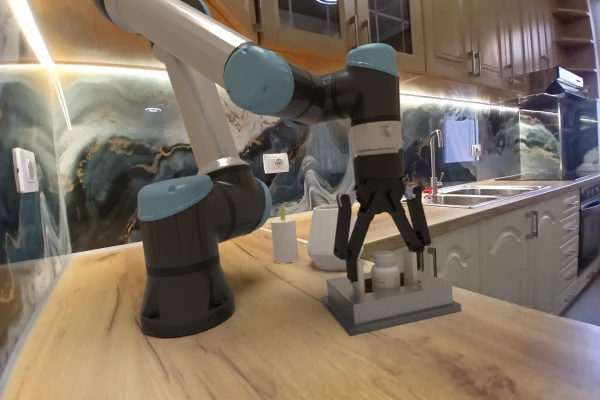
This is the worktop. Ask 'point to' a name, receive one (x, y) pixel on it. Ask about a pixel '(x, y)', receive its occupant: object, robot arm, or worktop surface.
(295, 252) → the candle
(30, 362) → the worktop surface
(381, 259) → the pill bottle
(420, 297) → the holder
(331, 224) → the white vase
